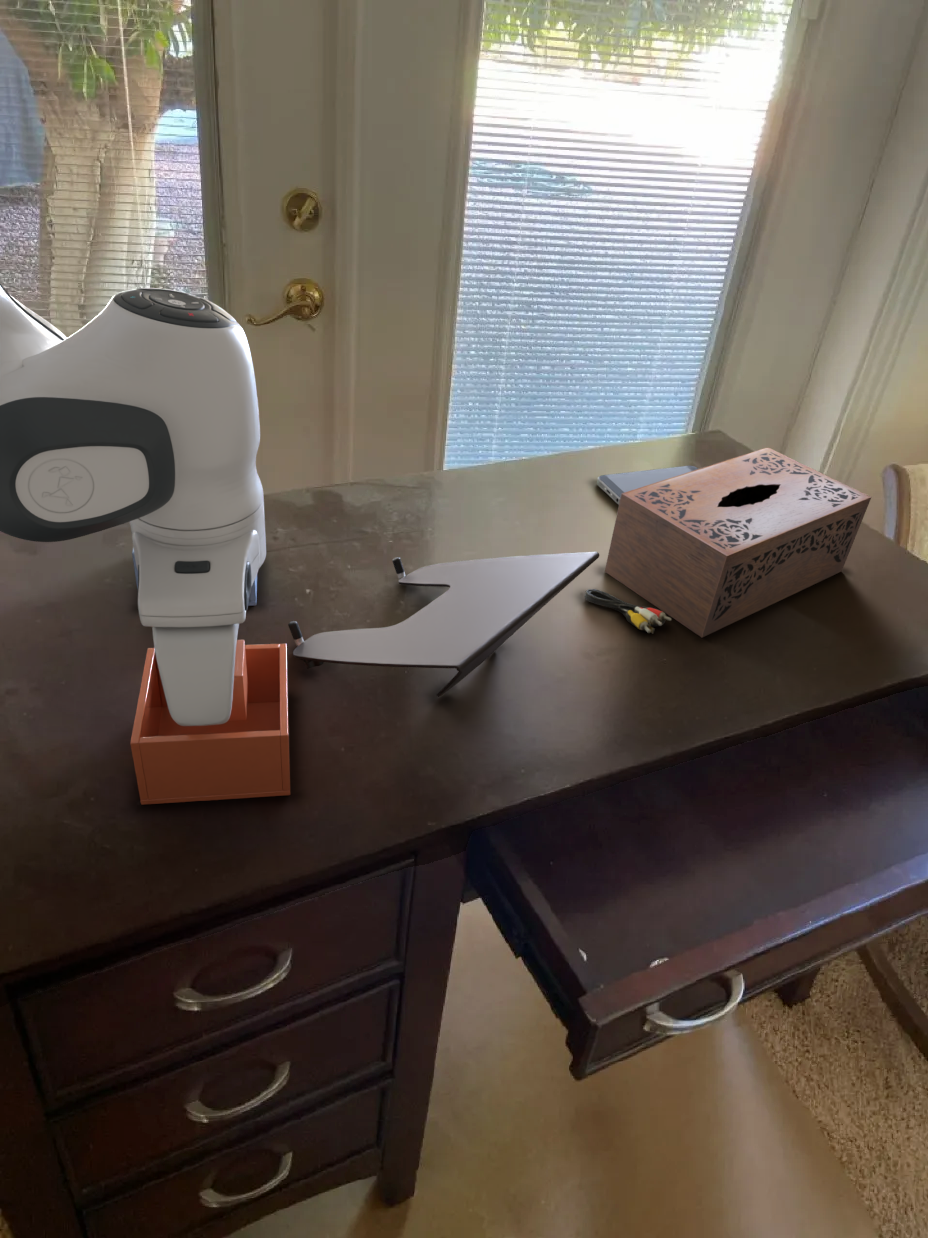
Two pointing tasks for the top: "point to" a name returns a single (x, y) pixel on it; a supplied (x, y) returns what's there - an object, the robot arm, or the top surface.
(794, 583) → the tissue box cover
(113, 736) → the top surface
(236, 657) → the terracotta block
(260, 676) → the terracotta bin
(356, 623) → the top surface
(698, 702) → the top surface
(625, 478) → the phone
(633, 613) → the composite cable
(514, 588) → the laptop stand
